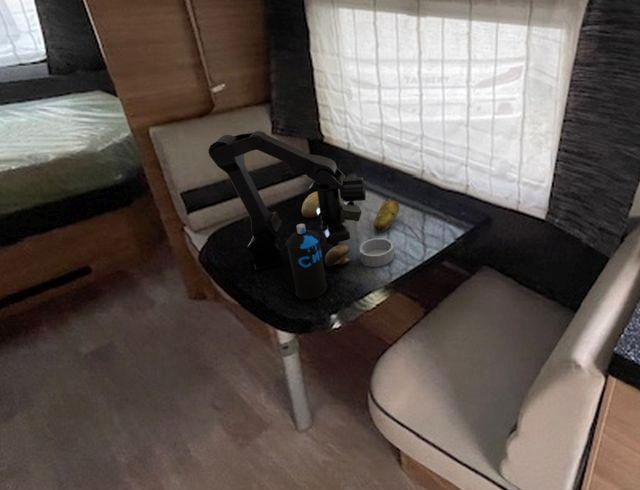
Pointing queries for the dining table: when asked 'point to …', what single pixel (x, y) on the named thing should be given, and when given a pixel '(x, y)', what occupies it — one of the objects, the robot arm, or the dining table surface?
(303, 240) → the aerosol can
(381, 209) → the potato
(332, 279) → the dining table surface
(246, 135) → the robot arm
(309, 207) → the bread roll
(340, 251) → the mushroom
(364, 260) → the white ramekin
